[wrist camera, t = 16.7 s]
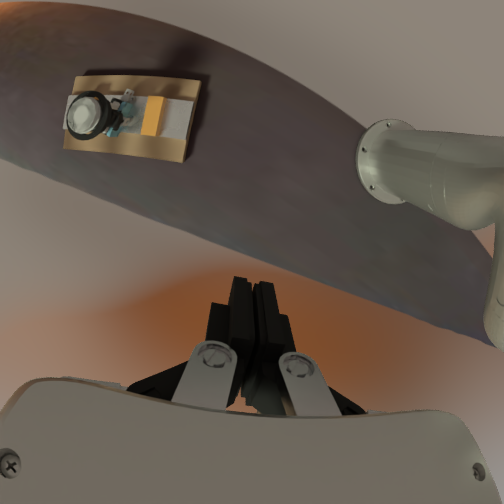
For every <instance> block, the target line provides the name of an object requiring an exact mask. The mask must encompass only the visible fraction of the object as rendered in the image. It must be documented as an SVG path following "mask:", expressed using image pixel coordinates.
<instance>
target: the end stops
mask: <svg viewBox="0 0 504 504" xmlns="http://www.w3.org/2000/svg"><path fill="white" fill-rule="evenodd" d="M94 99H96V100H98V98H96V97H94ZM166 100H167V98H165V97H160V96H148V100H147V104H146V109H145V114H144V118H143V123H142V129H141V134H140V135H149V136H159V133H160V128H161V123H162V118H163V114H164V109H165V105H166Z"/></svg>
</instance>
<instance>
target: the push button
mask: <svg viewBox="0 0 504 504" xmlns="http://www.w3.org/2000/svg"><path fill="white" fill-rule="evenodd" d="M128 91H129V92H128ZM127 92H128V94H126V93H127ZM131 93H132V94H131ZM130 94H131V95H130ZM133 94H134V91H132V90H130V89H127V90H126V91H125V93H124V95H123V96H122V97H121V99H117V98H112V100H111V102H110V101H108V100H107V99H106V97H105V96H104V95H103V94H102V93H100V92H97V91H92V90H91V91H85V92H83V93H81V94H80V95H78V96H77V97H76V98H75V99H74V100H73V101H72V103H71V105H70V107H69V109H68V112H67V117H66V124H67V128H68V131H69V133H70V134H71V135H72V136H73V137H74V138H75V139H77V140H82V141H84V140H90V139H93V138H95V137H96V136H97V135H99V134H100V133H103V134H105V135H107V136H109V137H118V135H119V133H120V131H121V129H122V127H123V126H127V125H128V123H129V121H130V118H127V116H128V114H129V112H130V110H131V108H132V106H133V105H132V104H130V102H131V100H132V99H131V98H132V96H133ZM94 97H96V98H98V99H99V100H96V99H94ZM127 121H128V122H127ZM126 122H127V123H126ZM88 132H92V133H90V134H85V133H88Z"/></svg>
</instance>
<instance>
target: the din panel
mask: <svg viewBox="0 0 504 504" xmlns="http://www.w3.org/2000/svg"><path fill="white" fill-rule="evenodd" d="M201 84H202V83H201V81H198V80H189V79H180V78H169V77H156V76H134V75H99V76H78V77H76V79H75V84H74V88H73V92H72V95H80V94H81V93H83V92H85V91H91V90H92V91H97V92H100V93H102V94H103V95H124V93H125V91H126V90H127V89H130V90H132V91H134V94H133V96H144V97H148V96H160V97H165V98H167V99H176V100H185V101H192V102H195V104H194V108H193V112H192V117H191V121H190V126H189V131H188V135H187V140H182V139H175V138H168V137H161V136H149V135H140V134H135V133H124V132H120V133H119V135H118V137H109V136H107V135H105V134H103V133H100V134H99V135H97V136H96V137H95V138H93V139H90V140H84V141H82V140H77V139H75V138H74V137H73V136H72V135H71V134H70V133H69V131H68V129H66V131H65V138H64V146H63V149H73V150H85V151H96V152H106V153H116V154H124V155H133V156H140V157H148V158H155V159H162V160H168V161H175V162H181V163H183V162H185V156H186V151H187V146H188V141H189V136H190V131H191V127H192V122H193V118H194V113H195V109H196V105H197V100H198V96H199V92H200V88H201ZM128 92H129V91H128ZM128 92H127V93H126V94H128ZM131 94H132V93H131ZM131 94H130V95H131ZM90 133H92V132H88V133H85V134H90Z"/></svg>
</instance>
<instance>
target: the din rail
mask: <svg viewBox="0 0 504 504" xmlns="http://www.w3.org/2000/svg"><path fill="white" fill-rule="evenodd" d="M77 96H78V95H69V97H68V102H67V107H66V113H65V118H64V125H63V129H68V128H67V124H66V117H67V112H68V109H69V107H70V105H71V103H72V101H73V100H74V99H75V98H76V97H77ZM104 96H105V97H106V99H107V100H108V101H110V102H111V100H112V98H117V99H121V97H122V96H123V95H104ZM131 99H132V100H131V102H130V104H132V105H133V106H132V108H131V110H130V112H129V114H128V116H127V118H130V121H129V123H128V125H127V126H123V127H122V129H121V131H120V132H124V133H135V134H141V129H142V123H143V118H144V114H145V109H146V104H147V100H148V97H144V96H132V98H131ZM98 100H99V99H98ZM194 104H195V102H192V101H185V100H176V99H167V100H166V105H165V109H164V114H163V118H162V123H161V128H160V133H159V136H161V137H168V138H175V139H182V140H187V135H188V131H189V126H190V121H191V117H192V112H193V108H194ZM127 122H128V121H127ZM127 122H126V123H127Z"/></svg>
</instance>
